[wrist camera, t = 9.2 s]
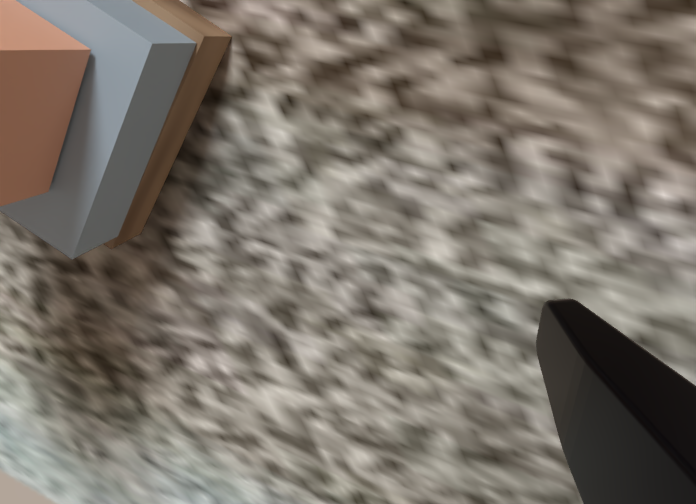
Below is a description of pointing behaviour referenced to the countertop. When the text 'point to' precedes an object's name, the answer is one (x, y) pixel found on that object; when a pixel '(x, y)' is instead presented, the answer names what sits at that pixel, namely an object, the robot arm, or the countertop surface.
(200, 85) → the walnut base slab
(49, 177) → the terracotta block
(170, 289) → the countertop surface
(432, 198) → the countertop surface
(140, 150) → the grey top slab
